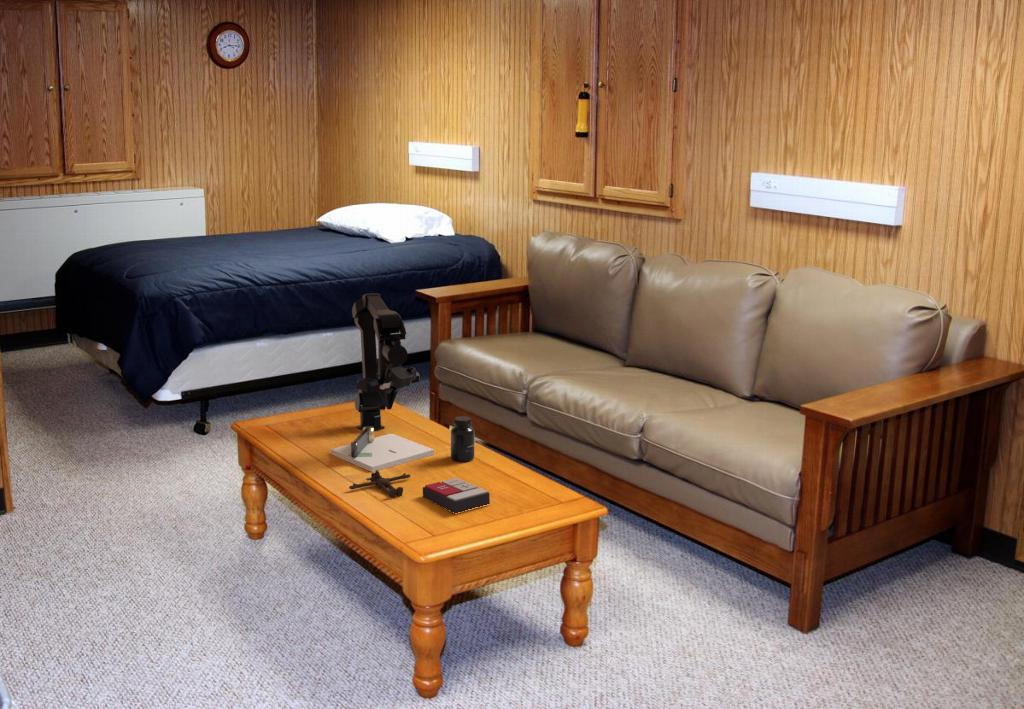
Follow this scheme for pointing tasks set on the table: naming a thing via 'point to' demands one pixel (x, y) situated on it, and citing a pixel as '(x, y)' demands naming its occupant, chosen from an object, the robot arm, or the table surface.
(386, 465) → the dial board
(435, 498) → the red grey black box
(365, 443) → the pointer
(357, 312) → the robot arm
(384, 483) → the black cross stand base
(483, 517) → the table surface
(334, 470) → the table surface
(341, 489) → the table surface
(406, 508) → the table surface
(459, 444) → the supplement bottle
